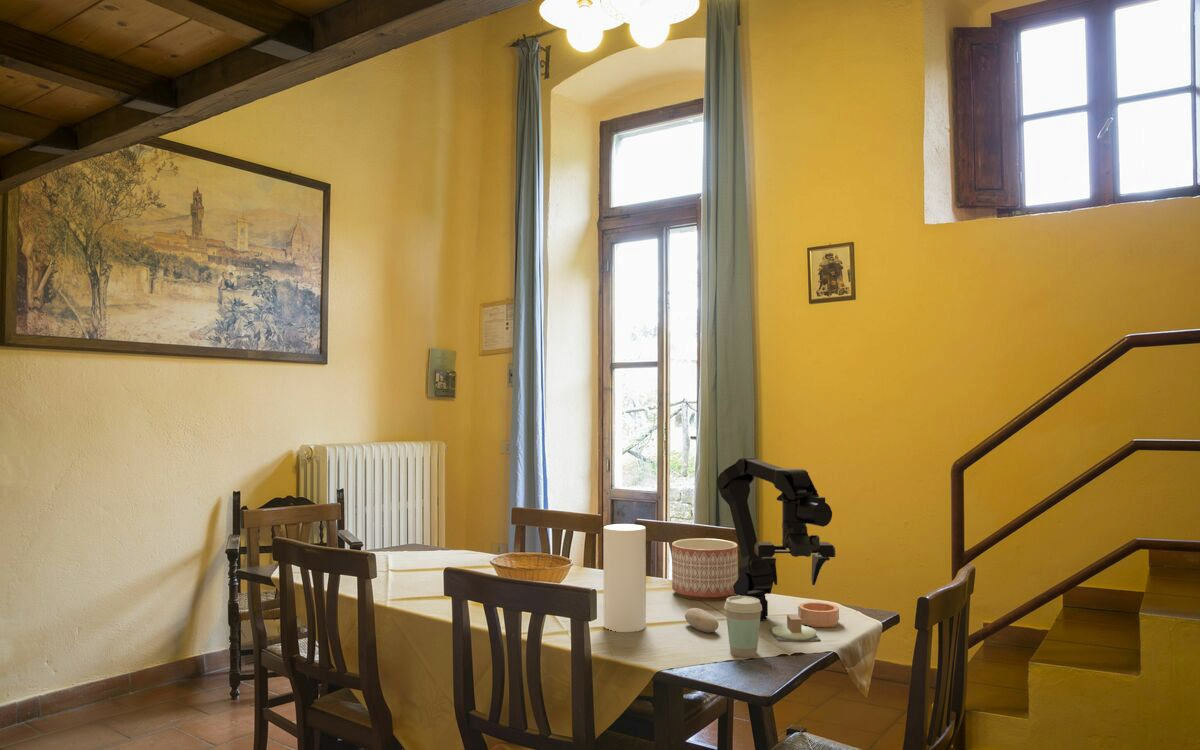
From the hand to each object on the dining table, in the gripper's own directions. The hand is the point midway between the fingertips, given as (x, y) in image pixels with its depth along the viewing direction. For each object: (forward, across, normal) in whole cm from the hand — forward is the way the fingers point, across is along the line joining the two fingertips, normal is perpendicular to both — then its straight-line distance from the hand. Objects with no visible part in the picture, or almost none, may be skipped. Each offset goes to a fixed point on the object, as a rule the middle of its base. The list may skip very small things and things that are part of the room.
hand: (794, 584), depth 199 cm
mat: (+12, 0, -1) cm, 12 cm away
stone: (+12, -22, +4) cm, 26 cm away
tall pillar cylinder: (+12, -42, +6) cm, 44 cm away
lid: (+12, 0, -1) cm, 12 cm away
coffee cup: (+12, -15, -15) cm, 25 cm away
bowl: (+12, +8, +10) cm, 18 cm away
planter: (+12, -17, +41) cm, 46 cm away
